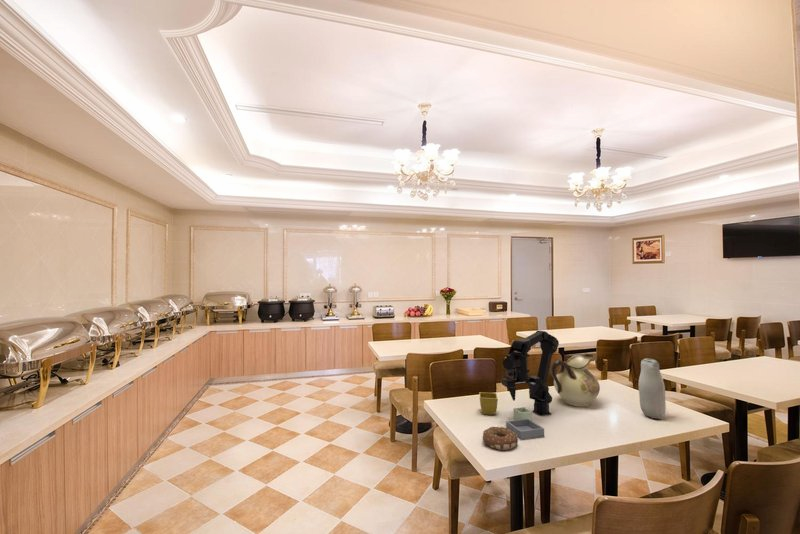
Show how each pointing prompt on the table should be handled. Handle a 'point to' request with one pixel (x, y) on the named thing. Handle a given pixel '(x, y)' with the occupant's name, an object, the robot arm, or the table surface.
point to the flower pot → (488, 402)
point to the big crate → (525, 429)
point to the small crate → (522, 413)
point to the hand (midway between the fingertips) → (522, 399)
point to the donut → (500, 438)
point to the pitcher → (575, 381)
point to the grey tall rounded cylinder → (651, 389)
